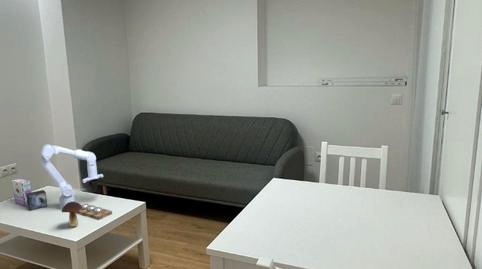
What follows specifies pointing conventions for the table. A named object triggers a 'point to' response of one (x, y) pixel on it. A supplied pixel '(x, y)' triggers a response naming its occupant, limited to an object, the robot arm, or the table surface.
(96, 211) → the button
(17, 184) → the candy box
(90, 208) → the button middle
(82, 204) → the button
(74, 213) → the decorative mushroom
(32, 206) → the small box
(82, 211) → the button panel
